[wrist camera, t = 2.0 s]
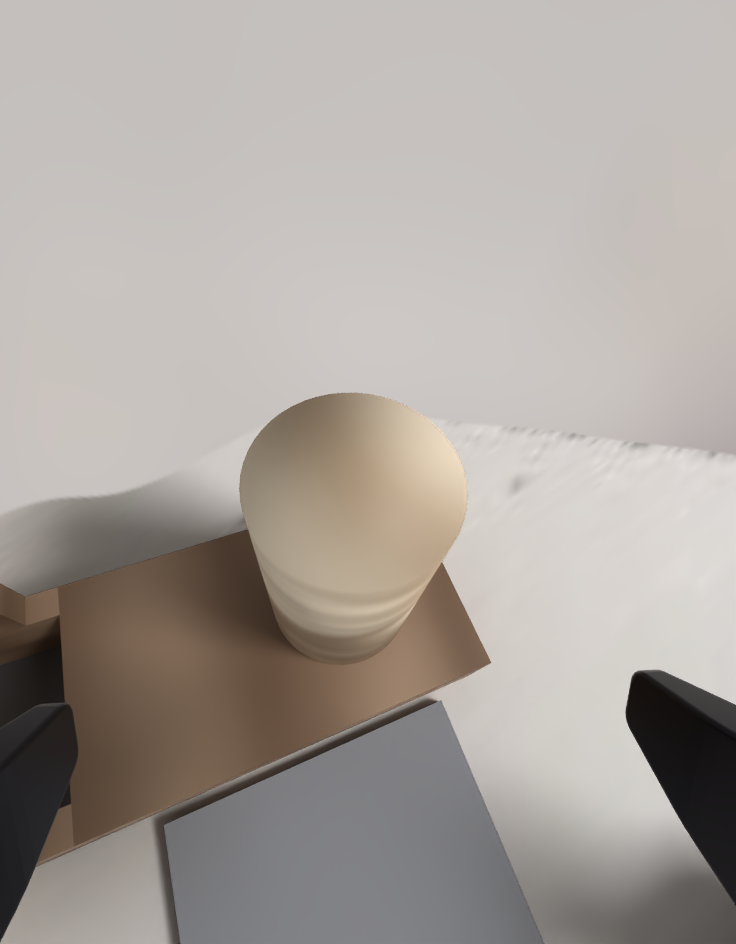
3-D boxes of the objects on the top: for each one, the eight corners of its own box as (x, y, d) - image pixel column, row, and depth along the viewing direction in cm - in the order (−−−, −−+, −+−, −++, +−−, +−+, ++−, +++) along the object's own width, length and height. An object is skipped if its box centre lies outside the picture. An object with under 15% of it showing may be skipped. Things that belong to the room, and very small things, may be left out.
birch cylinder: (325, 697, 15) (330, 646, 8) (246, 579, 17) (196, 456, 10) (434, 606, 17) (514, 502, 10) (352, 509, 18) (372, 364, 12)
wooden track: (393, 514, 22) (411, 455, 18) (467, 676, 18) (512, 651, 14) (-429, 778, 14) (-740, 786, 10) (-563, 1131, 11) (-1117, 1364, 7)
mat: (438, 701, 18) (441, 699, 17) (553, 974, 14) (559, 979, 14) (167, 823, 15) (163, 824, 15) (221, 1198, 11) (218, 1212, 11)
